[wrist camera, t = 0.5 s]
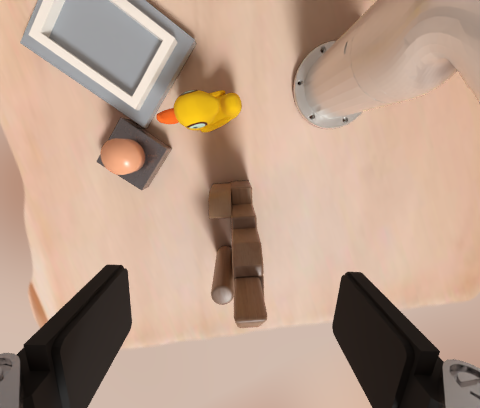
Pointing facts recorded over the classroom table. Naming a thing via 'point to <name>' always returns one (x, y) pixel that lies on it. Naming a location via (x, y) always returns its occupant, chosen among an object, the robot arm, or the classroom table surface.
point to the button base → (152, 149)
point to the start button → (122, 156)
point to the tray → (112, 50)
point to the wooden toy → (239, 255)
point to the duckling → (202, 110)
